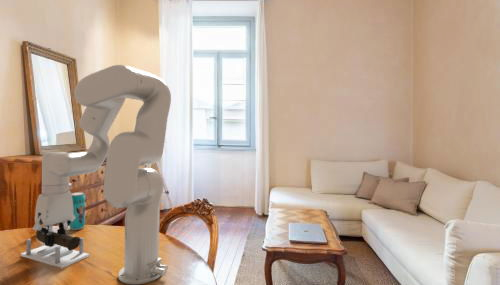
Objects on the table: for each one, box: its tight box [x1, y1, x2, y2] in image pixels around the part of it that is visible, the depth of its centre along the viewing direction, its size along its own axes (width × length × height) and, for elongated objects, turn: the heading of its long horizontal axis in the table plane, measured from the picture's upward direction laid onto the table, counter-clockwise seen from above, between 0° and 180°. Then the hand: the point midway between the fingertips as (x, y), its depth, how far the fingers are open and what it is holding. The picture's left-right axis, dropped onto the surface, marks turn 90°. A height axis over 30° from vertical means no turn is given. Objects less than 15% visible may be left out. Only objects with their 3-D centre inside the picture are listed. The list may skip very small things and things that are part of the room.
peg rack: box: [20, 230, 90, 269], centre depth 94 cm, size 20×9×6 cm, turn 69°
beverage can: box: [68, 191, 86, 231], centre depth 120 cm, size 6×6×15 cm
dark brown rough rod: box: [35, 230, 81, 251], centre depth 94 cm, size 19×4×5 cm, turn 65°
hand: (55, 243), depth 94 cm, fingers closed on dark brown rough rod, 3 cm apart
